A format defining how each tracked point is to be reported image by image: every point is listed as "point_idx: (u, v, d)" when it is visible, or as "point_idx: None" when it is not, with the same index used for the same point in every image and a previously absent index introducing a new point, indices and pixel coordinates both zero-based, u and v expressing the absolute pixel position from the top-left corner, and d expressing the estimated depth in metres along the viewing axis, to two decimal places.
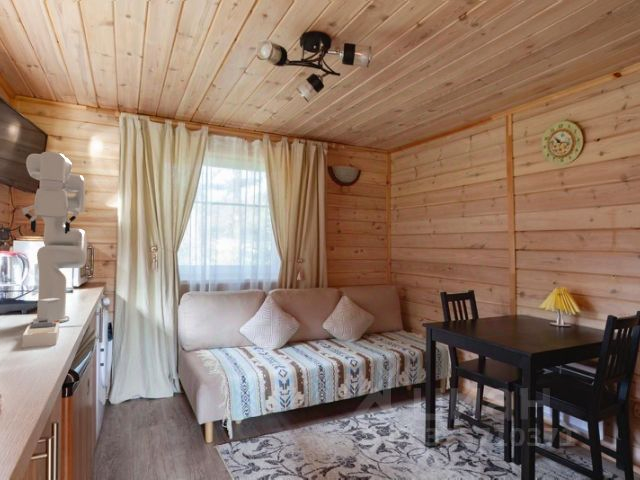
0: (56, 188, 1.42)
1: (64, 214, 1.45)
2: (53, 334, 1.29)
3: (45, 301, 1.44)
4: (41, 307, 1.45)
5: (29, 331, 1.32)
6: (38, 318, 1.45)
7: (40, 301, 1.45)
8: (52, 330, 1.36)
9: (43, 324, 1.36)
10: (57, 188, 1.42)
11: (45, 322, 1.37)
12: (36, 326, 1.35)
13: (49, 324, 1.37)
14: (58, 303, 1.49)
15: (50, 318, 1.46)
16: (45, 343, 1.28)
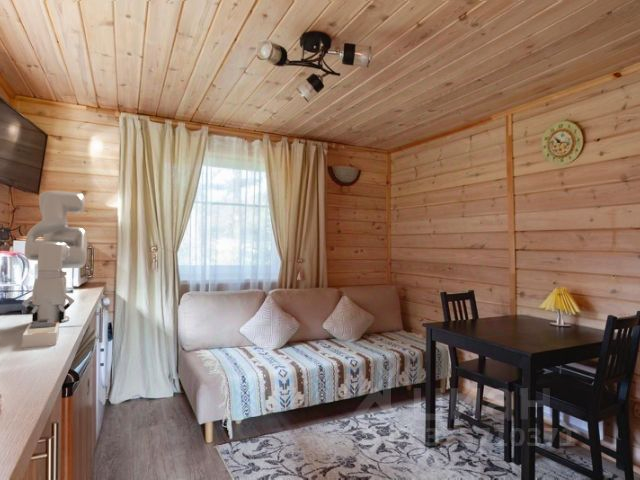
0: (54, 278, 1.45)
1: (61, 302, 1.48)
2: (53, 334, 1.29)
3: (45, 301, 1.44)
4: (41, 307, 1.45)
5: (29, 331, 1.32)
6: (38, 318, 1.45)
7: None
8: (52, 330, 1.36)
9: (43, 324, 1.36)
10: (55, 278, 1.46)
11: (45, 322, 1.37)
12: (36, 326, 1.35)
13: (49, 324, 1.37)
14: None
15: (50, 318, 1.46)
16: (45, 343, 1.28)
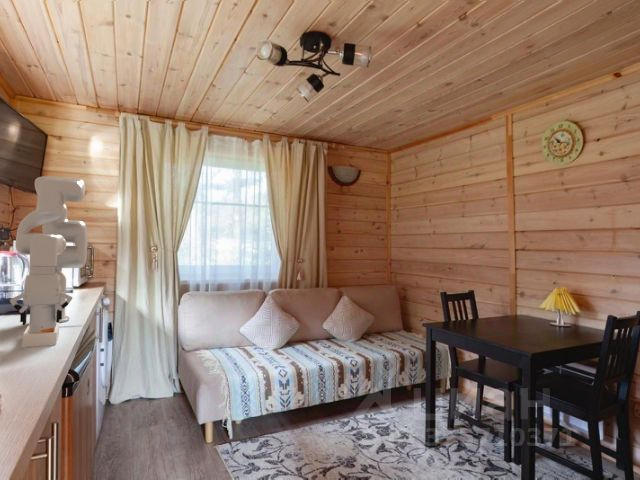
0: (47, 274, 1.29)
1: (56, 301, 1.32)
2: (53, 334, 1.29)
3: (39, 306, 1.28)
4: (34, 313, 1.29)
5: None
6: (31, 325, 1.29)
7: (33, 306, 1.29)
8: None
9: None
10: (48, 274, 1.29)
11: None
12: None
13: None
14: (53, 308, 1.33)
15: (44, 325, 1.30)
16: (45, 343, 1.28)
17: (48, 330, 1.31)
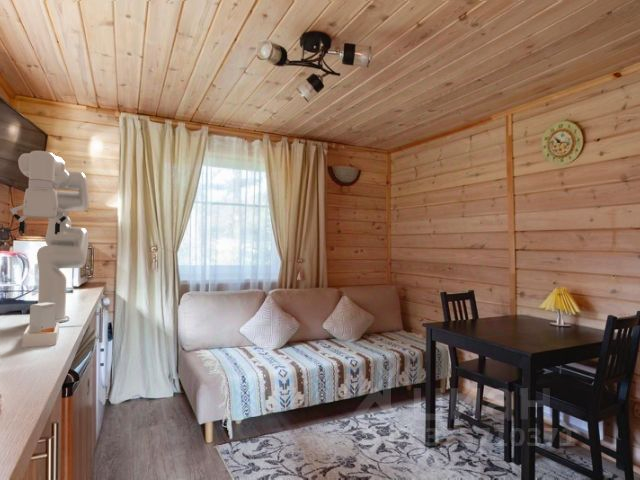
0: (45, 188, 1.39)
1: (54, 214, 1.41)
2: (53, 334, 1.29)
3: (39, 306, 1.28)
4: (34, 313, 1.29)
5: None
6: (31, 325, 1.29)
7: (33, 306, 1.29)
8: None
9: None
10: (46, 188, 1.39)
11: None
12: None
13: None
14: (53, 308, 1.33)
15: (44, 325, 1.30)
16: (45, 343, 1.28)
17: (48, 330, 1.31)
